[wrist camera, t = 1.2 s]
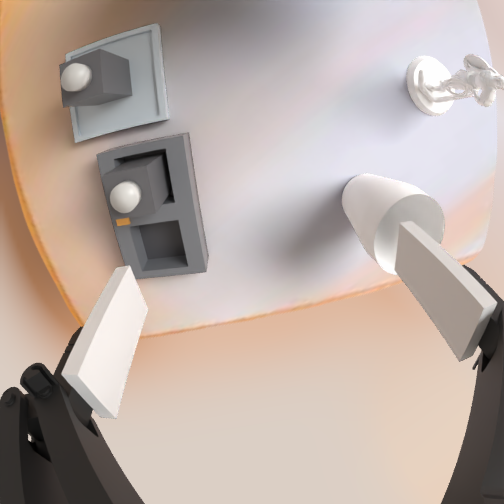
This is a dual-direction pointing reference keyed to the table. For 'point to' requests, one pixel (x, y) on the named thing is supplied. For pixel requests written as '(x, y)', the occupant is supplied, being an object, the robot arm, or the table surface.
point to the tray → (142, 82)
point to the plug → (95, 79)
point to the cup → (388, 214)
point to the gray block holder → (155, 206)
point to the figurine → (451, 83)
